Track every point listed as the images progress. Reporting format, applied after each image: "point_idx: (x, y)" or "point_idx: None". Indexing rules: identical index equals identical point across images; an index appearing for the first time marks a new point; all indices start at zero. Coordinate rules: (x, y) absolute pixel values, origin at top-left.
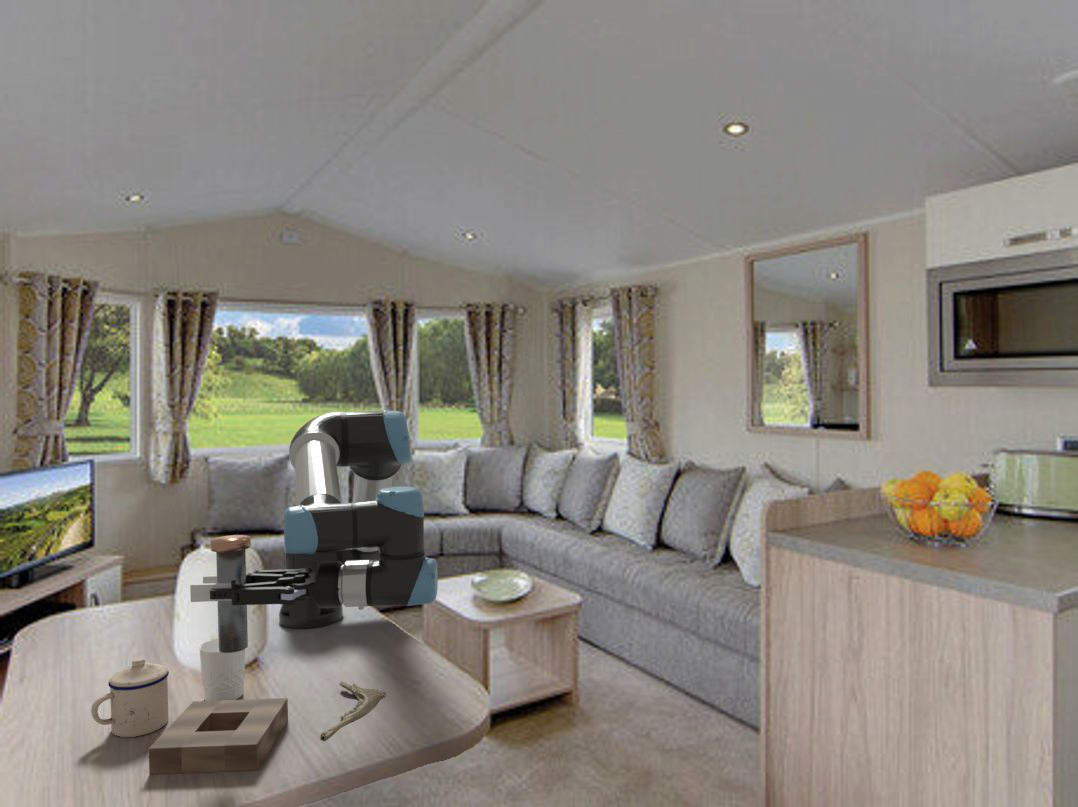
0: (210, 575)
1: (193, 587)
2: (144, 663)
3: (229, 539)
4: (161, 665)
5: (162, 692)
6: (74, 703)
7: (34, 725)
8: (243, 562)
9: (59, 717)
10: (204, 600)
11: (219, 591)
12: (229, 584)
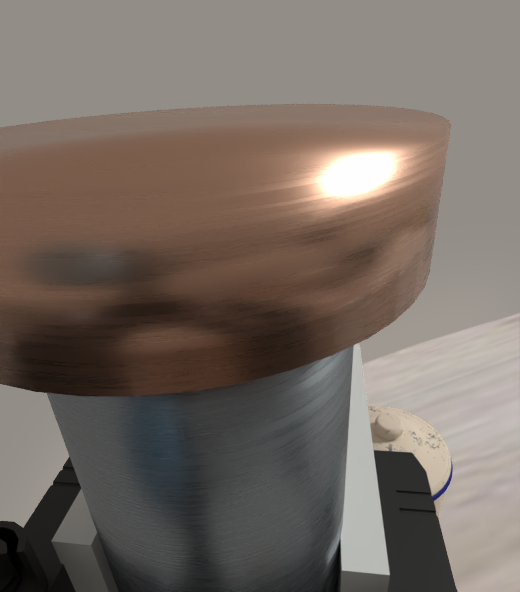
0: (356, 363)
1: None
2: (390, 438)
3: (139, 127)
4: (435, 475)
5: None
6: (454, 396)
7: (376, 381)
8: (126, 496)
9: (404, 397)
10: None
11: (53, 491)
12: (65, 522)
